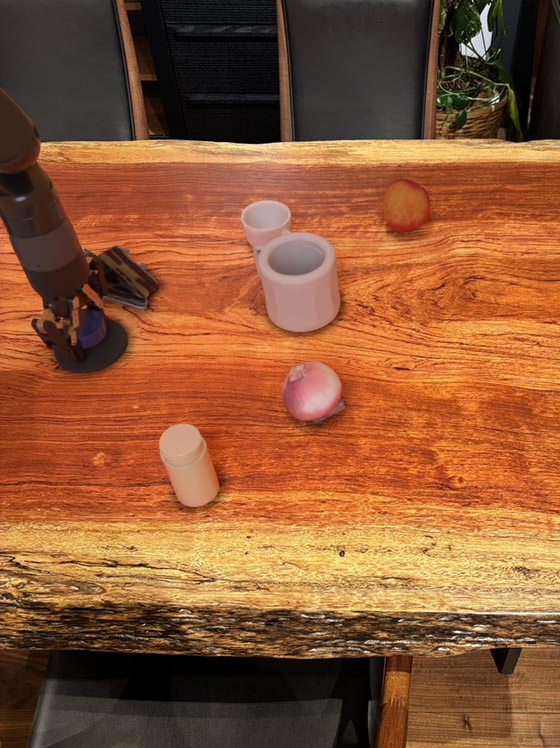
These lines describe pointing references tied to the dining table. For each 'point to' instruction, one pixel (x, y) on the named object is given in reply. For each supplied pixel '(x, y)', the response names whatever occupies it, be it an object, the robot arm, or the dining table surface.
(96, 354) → the trivet
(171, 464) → the jar
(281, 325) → the mug
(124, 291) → the chocolate cake
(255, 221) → the teacup
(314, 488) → the dining table surface
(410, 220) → the fruit
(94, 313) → the jar lid
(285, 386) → the onion
